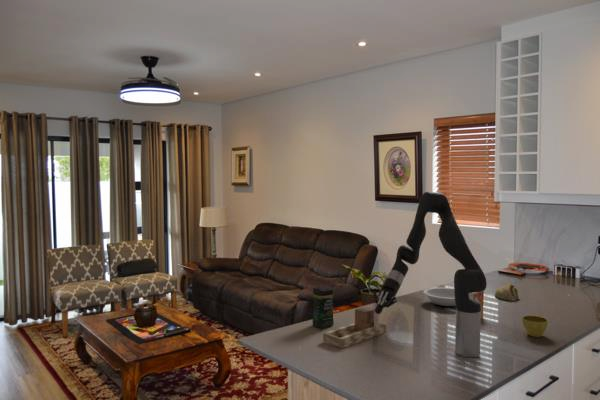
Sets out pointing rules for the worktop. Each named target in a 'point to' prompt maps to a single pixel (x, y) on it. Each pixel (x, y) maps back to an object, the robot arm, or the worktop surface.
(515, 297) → the pastry
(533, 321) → the flower pot
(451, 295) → the soup bowl
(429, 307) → the worktop surface
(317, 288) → the coffee jar
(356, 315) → the walnut block
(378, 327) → the birch chute
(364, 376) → the worktop surface
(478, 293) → the small box
